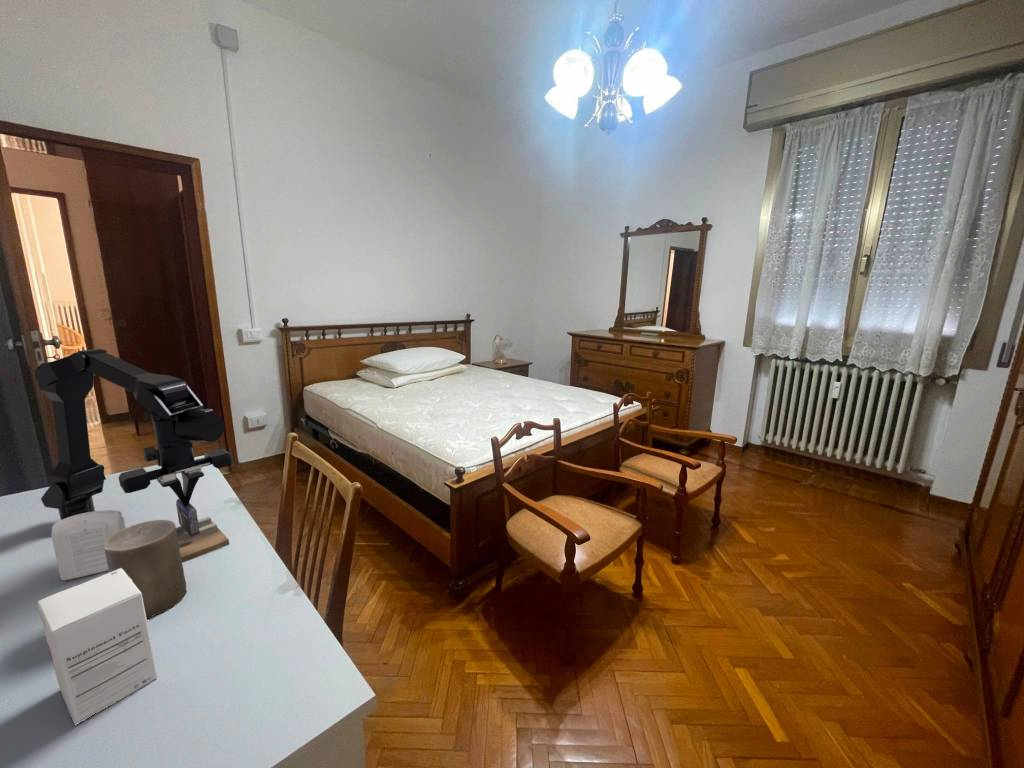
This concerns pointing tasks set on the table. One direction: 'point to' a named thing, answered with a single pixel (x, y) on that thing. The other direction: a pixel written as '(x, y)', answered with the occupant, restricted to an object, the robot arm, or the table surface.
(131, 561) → the pillar candle
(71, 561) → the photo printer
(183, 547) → the rail panel
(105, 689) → the supplement box
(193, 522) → the mini dv tape
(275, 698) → the table surface
